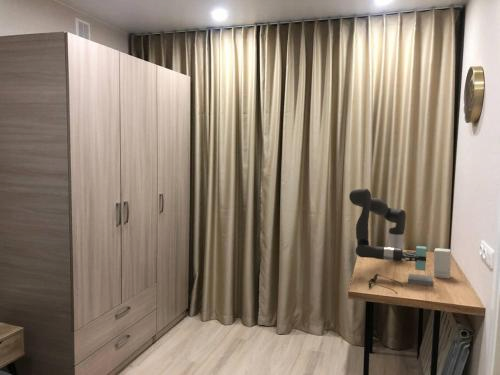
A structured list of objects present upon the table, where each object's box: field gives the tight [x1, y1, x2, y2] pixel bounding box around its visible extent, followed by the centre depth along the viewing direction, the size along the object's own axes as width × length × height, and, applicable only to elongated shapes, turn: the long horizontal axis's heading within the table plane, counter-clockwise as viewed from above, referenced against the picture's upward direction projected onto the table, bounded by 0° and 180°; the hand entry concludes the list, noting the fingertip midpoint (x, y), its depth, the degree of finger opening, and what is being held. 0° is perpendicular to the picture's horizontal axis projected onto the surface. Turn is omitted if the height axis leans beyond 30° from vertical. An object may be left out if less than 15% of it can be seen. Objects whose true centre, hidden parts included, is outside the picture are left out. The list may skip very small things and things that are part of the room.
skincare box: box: [433, 247, 452, 280], centre depth 229 cm, size 8×7×16 cm
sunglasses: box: [368, 273, 404, 294], centre depth 212 cm, size 14×15×5 cm
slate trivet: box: [407, 273, 433, 287], centre depth 221 cm, size 10×12×2 cm
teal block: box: [414, 245, 427, 272], centre depth 220 cm, size 5×5×12 cm
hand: (426, 257), depth 219 cm, fingers closed on teal block, 5 cm apart
